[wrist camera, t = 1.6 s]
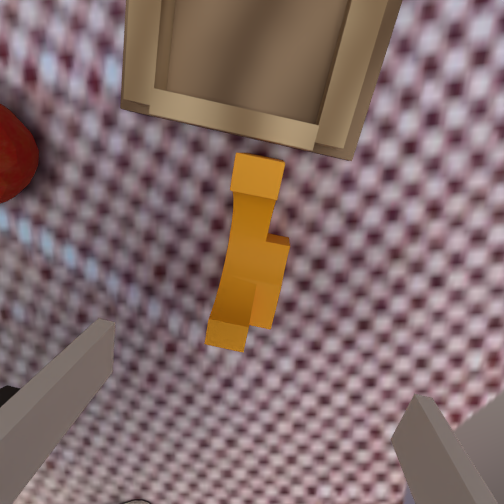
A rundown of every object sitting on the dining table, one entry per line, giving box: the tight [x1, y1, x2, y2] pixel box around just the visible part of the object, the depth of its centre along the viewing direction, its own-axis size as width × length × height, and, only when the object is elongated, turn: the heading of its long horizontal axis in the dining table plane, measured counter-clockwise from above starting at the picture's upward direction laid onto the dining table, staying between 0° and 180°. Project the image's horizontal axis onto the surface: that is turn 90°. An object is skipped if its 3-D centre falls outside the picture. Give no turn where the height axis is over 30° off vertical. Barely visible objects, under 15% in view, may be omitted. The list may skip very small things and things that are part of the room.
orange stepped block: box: [205, 153, 290, 352], centre depth 20 cm, size 12×4×6 cm, turn 169°
